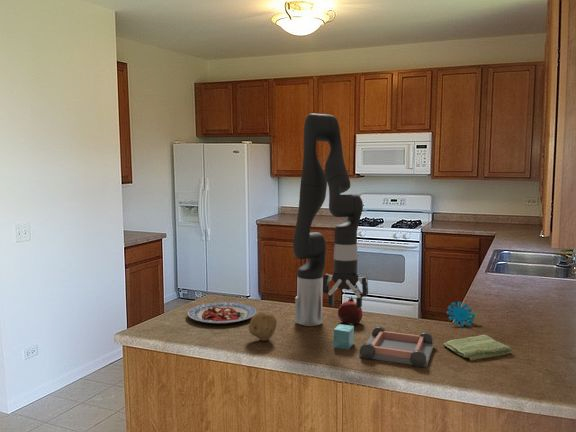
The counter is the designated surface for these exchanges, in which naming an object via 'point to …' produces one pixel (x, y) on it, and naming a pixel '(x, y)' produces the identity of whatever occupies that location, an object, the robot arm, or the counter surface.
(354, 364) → the counter surface
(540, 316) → the counter surface
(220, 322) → the ceramic plate
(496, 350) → the washcloth
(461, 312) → the gear
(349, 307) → the fruit
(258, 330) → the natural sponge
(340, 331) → the teal glassy cube
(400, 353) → the chassis
